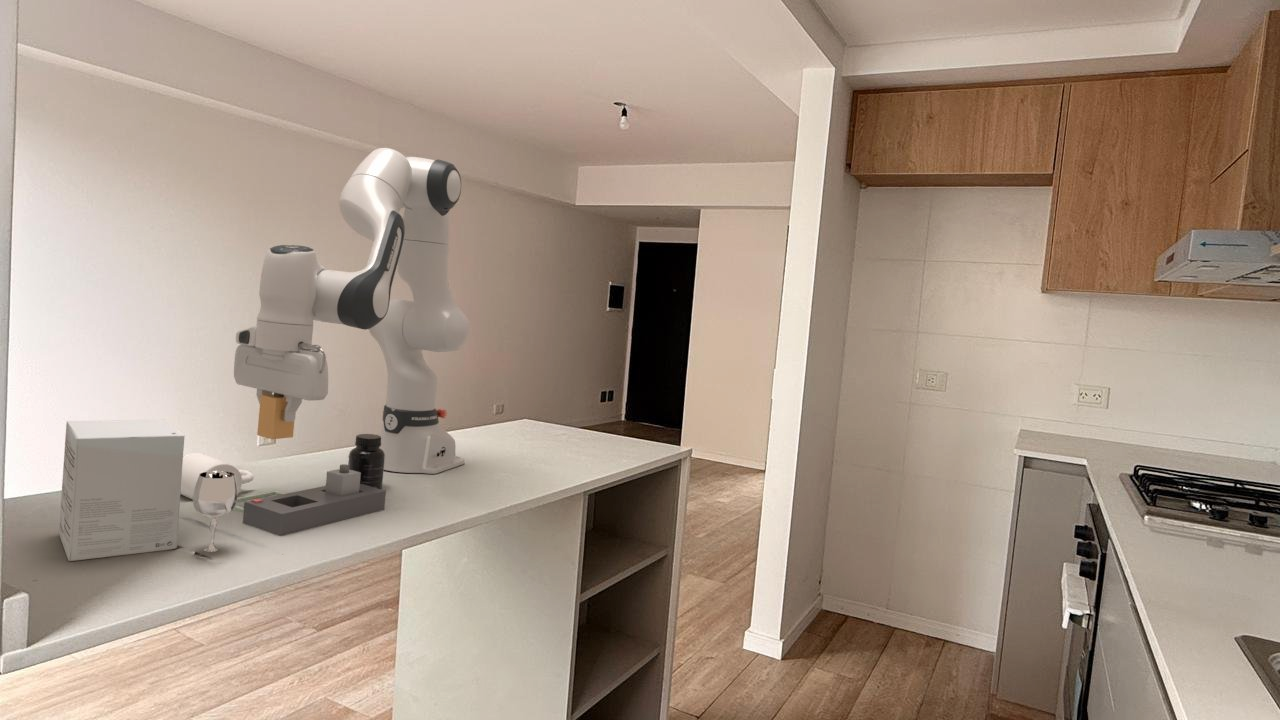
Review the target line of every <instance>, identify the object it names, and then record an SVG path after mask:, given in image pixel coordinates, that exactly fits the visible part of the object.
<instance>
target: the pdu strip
mask: <svg viewBox="0 0 1280 720" xmlns="http://www.w3.org/2000/svg"><path fill="white" fill-rule="evenodd" d="M325 490H326V485H324V486H323V485H322V486H317V487H313V488H308V489H303V490H298V491H292V492H287V493H285V494H281V495H271V496H266V497H260V498H255V499H250V500H245V501H243V502H244V504H243V508H244V513H243V515H242V516H243V517H242V524H244V525H248V526H250V527H253V528H256V529H259V530H262V531H265V532H268V533H269V534H273V535H276V536H280V537H282V536H286V535H290V534H294V533H298V532H300V531H301V532H302V531H305V530H309V529H310V530H311V529H314V528H319V527H322V526H325V525H330V524H333V523H337V522H342V521H345V520H348V519H349V520H350V519H353V518H356V517H361V516H366V515H369V514H372V513H373V514H374V513H376V512H380V511H384V510H385V506H386V505H385V504H386V496H387V495H386V493H387V490H385V489H378V488H374V487H371V486H367V485H364V484H360V488H359V493H356V494H352V495H347V496H342V497H340V496H337V495H334V494H330V493H327V492H325Z"/></svg>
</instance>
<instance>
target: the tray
mask: <svg viewBox="0 0 1280 720" xmlns="http://www.w3.org/2000/svg"><path fill="white" fill-rule="evenodd" d="M281 494H286V493H284V492H281V491H278V490H272V491H267V492H262V493H257V494H251V495H250V494H249V495H246V496H245V495H244V496H240V497H237V501H236V503H239V502H246V501H251V500H254V499H261V498H266V497H271V496H276V495H281ZM232 510H233V511H237V512H240V513H244V507H241V506H238V505H235V507H234V508H233V509H232Z"/></svg>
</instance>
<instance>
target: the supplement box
mask: <svg viewBox="0 0 1280 720" xmlns="http://www.w3.org/2000/svg"><path fill="white" fill-rule="evenodd" d="M185 438H186V437H185V435H184V434H183V433H182V432H181V431H179V429H177V428H176V427H175V426H174V425H173V424H171V423H170V422H169V421H168V420H166V419H165V418H164V419H163V418H161V419H127V420H126V419H123V420H122V419H120V420H119V419H117V420H116V419H115V420H66V424H65V440H64V441H65V442H64V455H63V468H62V469H63V470H62V480H61V481H62V485H61V495H60V496H61V499H60V512H59V529H58V530H59V531H58V532H59V533H58V535H59V538H60V541H61V544H62V547H63V550H64V552H65V554H66V557H67V560H68V562H74V561H82V560H84V561H85V560H91V559H92V560H93V559H101V558H109V557H117V556H126V555H133V554H142V553H152V552H160V551H161V552H162V551H167V550H168V551H169V550H174V549H177V548H178V538H179V526H180V525H179V522H180V521H179V520H180V507H181V479H182V463H183V456H184V448H185V447H184V446H185Z"/></svg>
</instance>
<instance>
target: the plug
mask: <svg viewBox="0 0 1280 720" xmlns="http://www.w3.org/2000/svg"><path fill="white" fill-rule="evenodd" d="M287 404H288V402H286V395H282V394H278V393H272V395H261V398H260V404H259V412H258V422H257V434H256V435H257V436H258V437H262V438H266V439H271V440H278V439H279V440H281V439H287V438H294V431H295V420H294V421H293V422H286V421H282V420H281V411H283V410H285V408H286V406H287Z"/></svg>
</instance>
